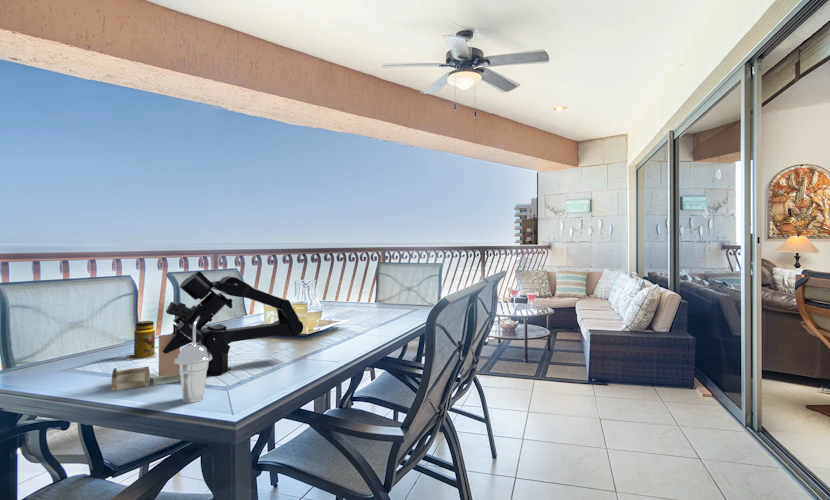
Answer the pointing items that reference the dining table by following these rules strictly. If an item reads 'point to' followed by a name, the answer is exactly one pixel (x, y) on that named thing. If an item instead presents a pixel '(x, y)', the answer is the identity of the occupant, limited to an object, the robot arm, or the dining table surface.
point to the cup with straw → (193, 369)
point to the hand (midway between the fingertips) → (163, 351)
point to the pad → (166, 379)
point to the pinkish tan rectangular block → (167, 357)
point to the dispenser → (130, 378)
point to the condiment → (143, 341)
